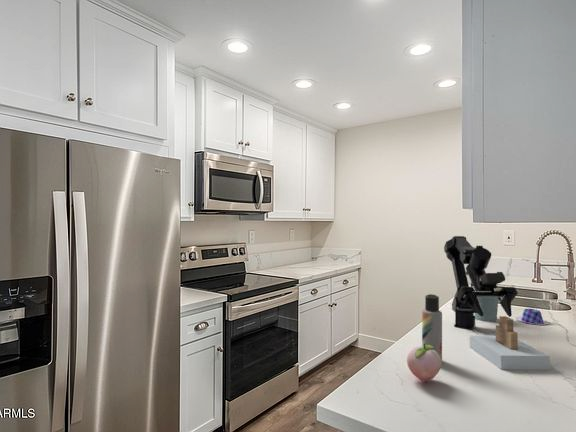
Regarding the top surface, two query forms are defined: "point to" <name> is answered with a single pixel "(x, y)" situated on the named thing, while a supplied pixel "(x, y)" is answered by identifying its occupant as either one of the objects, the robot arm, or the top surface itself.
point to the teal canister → (488, 309)
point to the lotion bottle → (432, 324)
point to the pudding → (532, 317)
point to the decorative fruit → (424, 362)
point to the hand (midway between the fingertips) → (496, 316)
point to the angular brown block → (506, 333)
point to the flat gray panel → (510, 354)
